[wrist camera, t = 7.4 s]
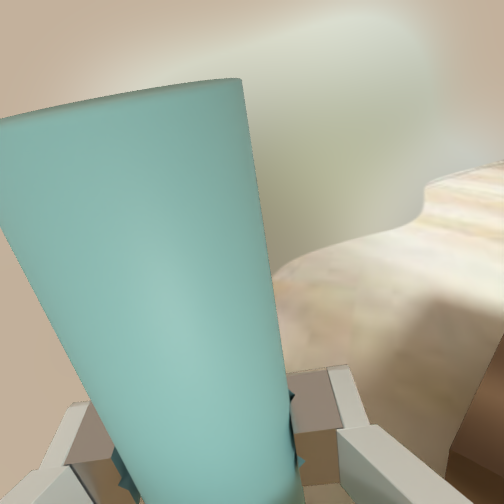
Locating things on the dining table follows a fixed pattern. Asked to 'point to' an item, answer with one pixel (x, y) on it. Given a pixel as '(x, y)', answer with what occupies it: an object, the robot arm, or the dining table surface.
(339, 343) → the dining table surface
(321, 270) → the dining table surface
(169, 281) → the peg
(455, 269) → the dining table surface
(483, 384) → the socket block
